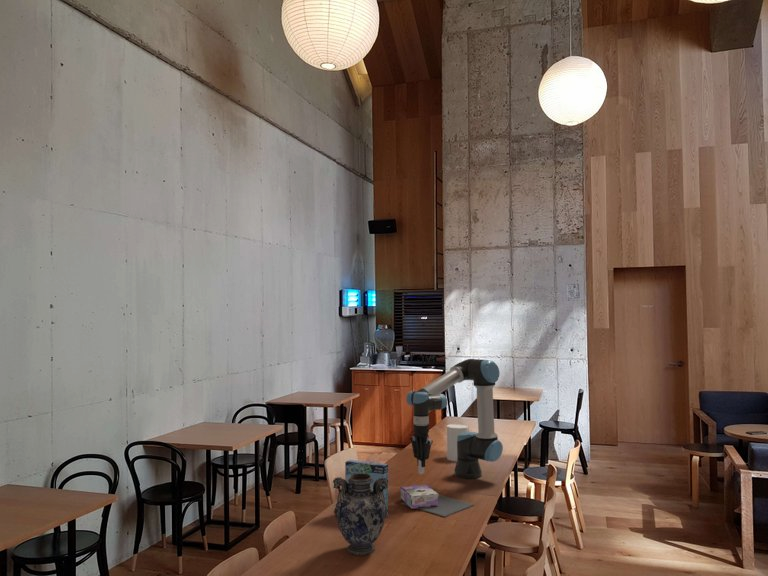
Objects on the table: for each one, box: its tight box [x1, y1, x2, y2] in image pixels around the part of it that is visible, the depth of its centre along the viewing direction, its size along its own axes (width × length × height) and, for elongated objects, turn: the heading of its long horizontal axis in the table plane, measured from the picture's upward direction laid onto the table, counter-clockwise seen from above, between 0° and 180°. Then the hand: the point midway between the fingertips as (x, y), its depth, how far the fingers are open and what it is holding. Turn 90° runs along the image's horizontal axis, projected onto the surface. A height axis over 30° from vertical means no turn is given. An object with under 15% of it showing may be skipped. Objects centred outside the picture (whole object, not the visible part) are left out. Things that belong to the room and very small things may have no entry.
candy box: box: [400, 484, 440, 510], centre depth 281 cm, size 14×6×16 cm
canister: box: [446, 423, 470, 462], centre depth 366 cm, size 14×14×20 cm
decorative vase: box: [332, 474, 389, 556], centre depth 227 cm, size 21×19×28 cm
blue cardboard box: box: [344, 459, 389, 518], centre depth 267 cm, size 20×5×23 cm, turn 66°
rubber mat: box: [401, 494, 475, 518], centre depth 279 cm, size 22×26×1 cm
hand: (421, 473), depth 287 cm, fingers closed
